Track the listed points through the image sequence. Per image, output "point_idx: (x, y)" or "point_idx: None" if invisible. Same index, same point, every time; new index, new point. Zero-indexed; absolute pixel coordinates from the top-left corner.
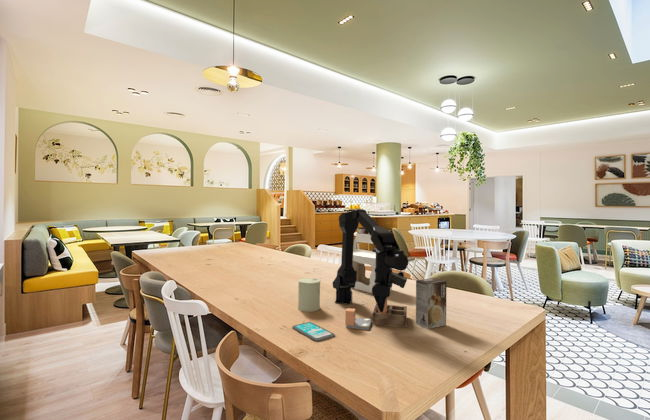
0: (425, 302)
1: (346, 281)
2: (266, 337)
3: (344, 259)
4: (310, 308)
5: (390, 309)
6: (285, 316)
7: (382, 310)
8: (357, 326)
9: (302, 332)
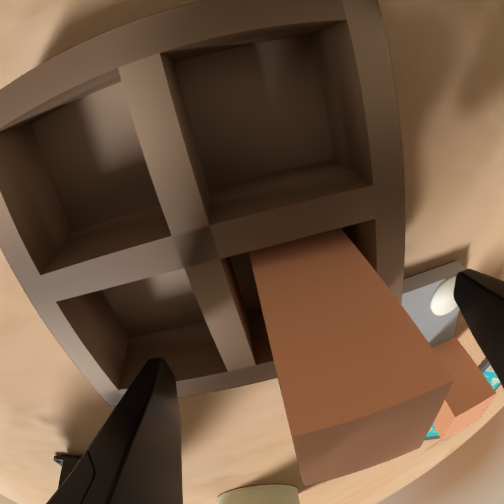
0: None
1: None
2: (492, 415)
3: None
4: (293, 494)
5: (187, 249)
6: (362, 481)
7: (479, 279)
8: (454, 322)
9: None
